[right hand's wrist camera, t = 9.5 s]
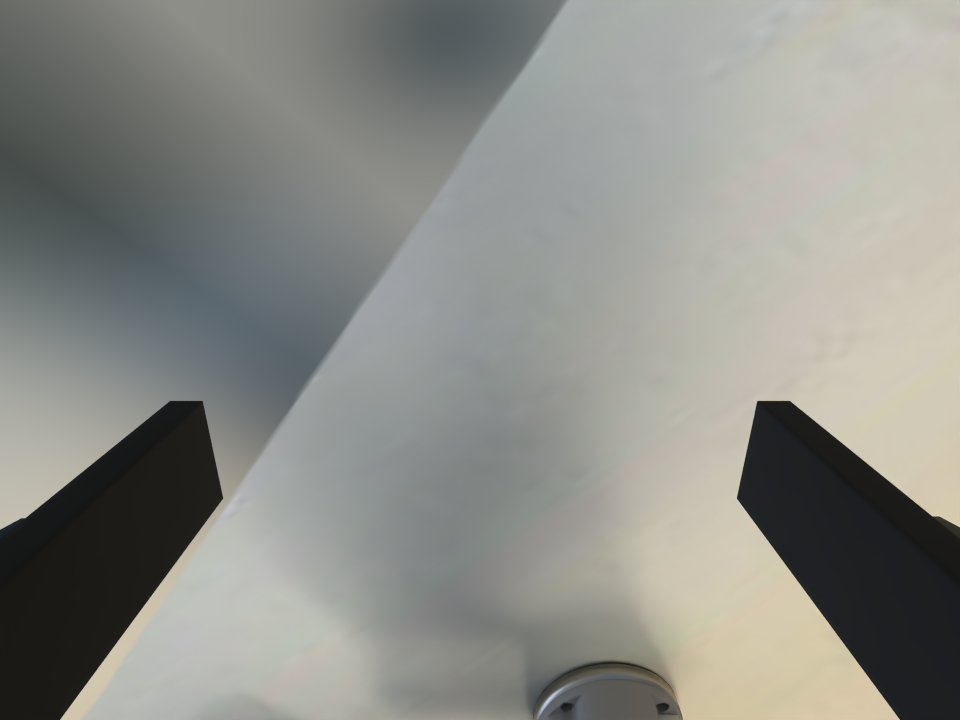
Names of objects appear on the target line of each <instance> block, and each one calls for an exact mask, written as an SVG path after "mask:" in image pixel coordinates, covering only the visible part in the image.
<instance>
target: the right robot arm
mask: <svg viewBox="0 0 960 720" xmlns="http://www.w3.org/2000/svg"><path fill="white" fill-rule="evenodd" d="M222 499H223V496H222V491H221V486H220V481H219V477H218V472H217V467H216V462H215V458H214V453H213V448H212V443H211V439H210V434H209V429H208V424H207V420H206V415H205V410H204V406H203V401H170V402H168V403H167V404H166V405H165V406H163V407H162V408H161V409H160V410H159V411H157V412H156V413H155V414H154V415H152V416H151V417H150V418H149V419H147V420H146V421H145V422H144V423H142V424H141V425H140V426H139V427H138V428H136V429H135V430H134V431H133V432H131V433H130V434H129V435H128V436H126V437H125V438H124V439H123V440H121V441H120V442H119V443H118V444H117V445H115V446H114V447H113V448H112V449H110V450H109V451H108V452H107V453H105V454H104V455H103V456H102V457H101V458H99V459H98V460H97V461H96V462H94V463H93V464H92V465H91V466H89V467H88V468H87V469H86V470H84V471H83V472H82V473H81V474H80V475H78V476H77V477H76V478H75V479H73V480H72V481H71V482H70V483H68V484H67V485H66V486H65V487H64V488H62V489H61V490H60V491H59V492H57V493H56V494H55V495H54V496H52V497H51V498H50V499H49V500H48V501H46V502H45V503H44V504H42V505H41V506H40V507H39V508H38V509H36V510H35V511H34V512H33V513H31V514H30V515H29V516H28V517H26V518H21V519H19V520H18V521H16V522H14V523H12V524H10V525H8V526H6V527H5V528H3V529H1V530H0V720H60V719H61V718H62V716H63V715H64V714H65V712H66V711H67V709H68V708H69V707H70V705H71V704H72V703H73V701H74V700H75V699H76V697H77V696H78V694H79V693H80V692H81V690H82V689H83V688H84V686H85V685H86V684H87V682H88V681H89V680H90V678H91V677H92V676H93V674H94V673H95V671H96V670H97V669H98V667H99V666H100V665H101V663H102V662H103V661H104V659H105V658H106V657H107V655H108V654H109V653H110V651H111V650H112V648H113V647H114V646H115V644H116V643H117V642H118V640H119V639H120V638H121V636H122V635H123V634H124V632H125V631H126V629H127V628H128V627H129V625H130V624H131V623H132V621H133V620H134V619H135V617H136V616H137V615H138V613H139V612H140V610H141V609H142V608H143V606H144V605H145V604H146V602H147V601H148V600H149V598H150V597H151V596H152V594H153V593H154V591H155V590H156V589H157V587H158V586H159V585H160V583H161V582H162V581H163V579H164V578H165V577H166V575H167V574H168V572H169V571H170V570H171V568H172V567H173V566H174V564H175V563H176V562H177V560H178V559H179V558H180V556H181V555H182V553H183V552H184V551H185V549H186V548H187V547H188V545H189V544H190V543H191V541H192V540H193V539H194V537H195V536H196V534H197V533H198V532H199V530H200V529H201V528H202V526H203V525H204V524H205V522H206V521H207V519H208V518H209V517H210V516H211V514H212V513H213V511H214V510H215V509H216V507H217V506H218V505H219V503H220V502H221V501H222ZM737 499H738V501H739V502H740V503H741V505H742V506H743V507H744V509H745V510H746V511H747V513H748V514H749V516H750V517H751V518H752V520H753V521H754V522H755V524H756V525H757V526H758V528H759V529H760V530H761V532H762V533H763V535H764V536H765V537H766V539H767V540H768V541H769V543H770V544H771V545H772V547H773V548H774V549H775V551H776V552H777V554H778V555H779V556H780V558H781V559H782V560H783V562H784V563H785V564H786V566H787V567H788V568H789V570H790V571H791V572H792V574H793V575H794V577H795V578H796V579H797V581H798V582H799V583H800V585H801V586H802V587H803V589H804V590H805V591H806V593H807V594H808V596H809V597H810V598H811V600H812V601H813V602H814V604H815V605H816V606H817V608H818V609H819V610H820V612H821V613H822V615H823V616H824V617H825V619H826V620H827V621H828V623H829V624H830V625H831V627H832V628H833V629H834V631H835V632H836V634H837V635H838V636H839V638H840V639H841V640H842V642H843V643H844V644H845V646H846V647H847V648H848V650H849V651H850V653H851V654H852V655H853V657H854V658H855V659H856V661H857V662H858V663H859V665H860V666H861V667H862V669H863V670H864V672H865V673H866V674H867V676H868V677H869V678H870V680H871V681H872V682H873V684H874V685H875V686H876V688H877V689H878V690H879V692H880V693H881V695H882V696H883V697H884V699H885V700H886V701H887V703H888V704H889V705H890V707H891V708H892V709H893V711H894V712H895V714H896V715H897V716H898V718H899V719H900V720H960V527H958V526H956V525H954V524H952V523H950V522H949V521H947V520H945V519H943V518H941V517H932V516H931V515H930V514H929V513H927V512H926V511H925V510H924V509H922V508H921V507H920V506H919V505H918V504H916V503H915V502H914V501H913V500H911V499H910V498H909V497H908V496H906V495H905V494H904V493H903V492H901V491H900V490H899V489H898V488H897V487H895V486H894V485H893V484H892V483H890V482H889V481H888V480H887V479H885V478H884V477H883V476H882V475H880V474H879V473H878V472H877V471H876V470H874V469H873V468H872V467H871V466H869V465H868V464H867V463H866V462H864V461H863V460H862V459H861V458H860V457H858V456H857V455H856V454H855V453H853V452H852V451H851V450H850V449H848V448H847V447H846V446H845V445H843V444H842V443H841V442H840V441H839V440H837V439H836V438H835V437H834V436H832V435H831V434H830V433H829V432H827V431H826V430H825V429H824V428H822V427H821V426H820V425H819V424H818V423H816V422H815V421H814V420H813V419H811V418H810V417H809V416H808V415H806V414H805V413H804V412H803V411H801V410H800V409H799V408H798V407H797V406H795V405H794V404H793V403H792V402H790V401H757V405H756V410H755V415H754V420H753V424H752V429H751V434H750V439H749V443H748V448H747V453H746V458H745V462H744V467H743V472H742V476H741V481H740V486H739V491H738V495H737ZM534 720H683V718H682V714H681V711H680V708H679V705H678V703H677V700H676V697H675V695H674V693H673V691H672V689H671V688H670V687H669V685H668V684H667V683H666V682H665V681H664V680H663V679H661V678H660V677H659V676H657V675H655V674H654V673H652V672H650V671H647V670H645V669H642V668H639V667H636V666H631V665H625V664H598V665H592V666H587V667H583V668H580V669H577V670H574V671H572V672H570V673H567V674H566V675H564V676H562V677H560V678H559V679H557V680H556V681H554V682H553V683H552V684H551V685H549V686H548V687H547V688H546V689H545V691H544V692H543V693H542V694H541V696H540V697H539V699H538V701H537V703H536V706H535V710H534Z"/></svg>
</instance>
